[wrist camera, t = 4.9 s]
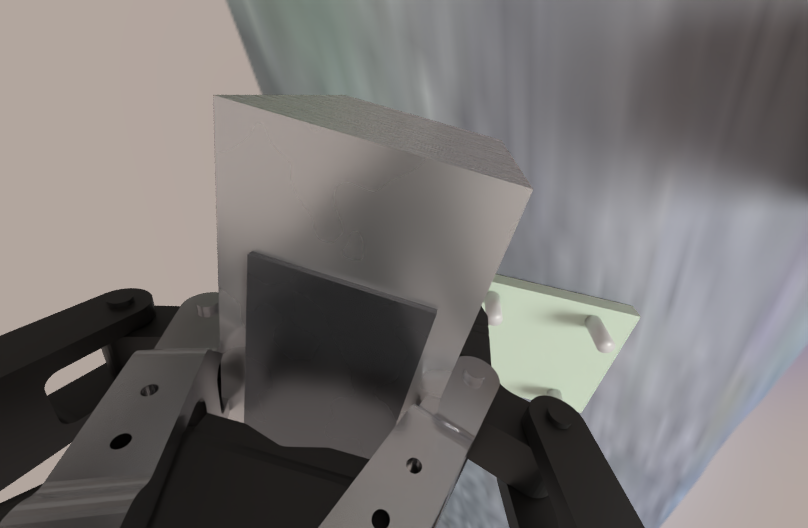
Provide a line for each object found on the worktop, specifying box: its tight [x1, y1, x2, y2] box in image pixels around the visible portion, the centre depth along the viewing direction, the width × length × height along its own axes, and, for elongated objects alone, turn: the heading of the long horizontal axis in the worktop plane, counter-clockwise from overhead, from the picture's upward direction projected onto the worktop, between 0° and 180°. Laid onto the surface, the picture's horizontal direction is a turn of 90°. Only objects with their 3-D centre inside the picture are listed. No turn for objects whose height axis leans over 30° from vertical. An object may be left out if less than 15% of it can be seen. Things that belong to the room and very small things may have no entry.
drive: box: [213, 95, 533, 459], centre depth 10 cm, size 12×5×6 cm, turn 166°
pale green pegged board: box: [482, 274, 640, 413], centre depth 28 cm, size 14×11×4 cm
